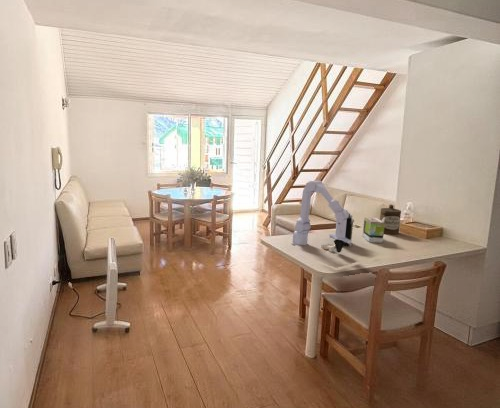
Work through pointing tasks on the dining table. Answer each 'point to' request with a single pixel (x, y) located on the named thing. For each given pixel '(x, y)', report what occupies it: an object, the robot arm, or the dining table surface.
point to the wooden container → (391, 220)
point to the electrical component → (349, 229)
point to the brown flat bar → (328, 248)
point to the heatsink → (327, 245)
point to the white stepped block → (331, 248)
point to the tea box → (373, 229)
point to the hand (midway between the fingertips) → (338, 252)
